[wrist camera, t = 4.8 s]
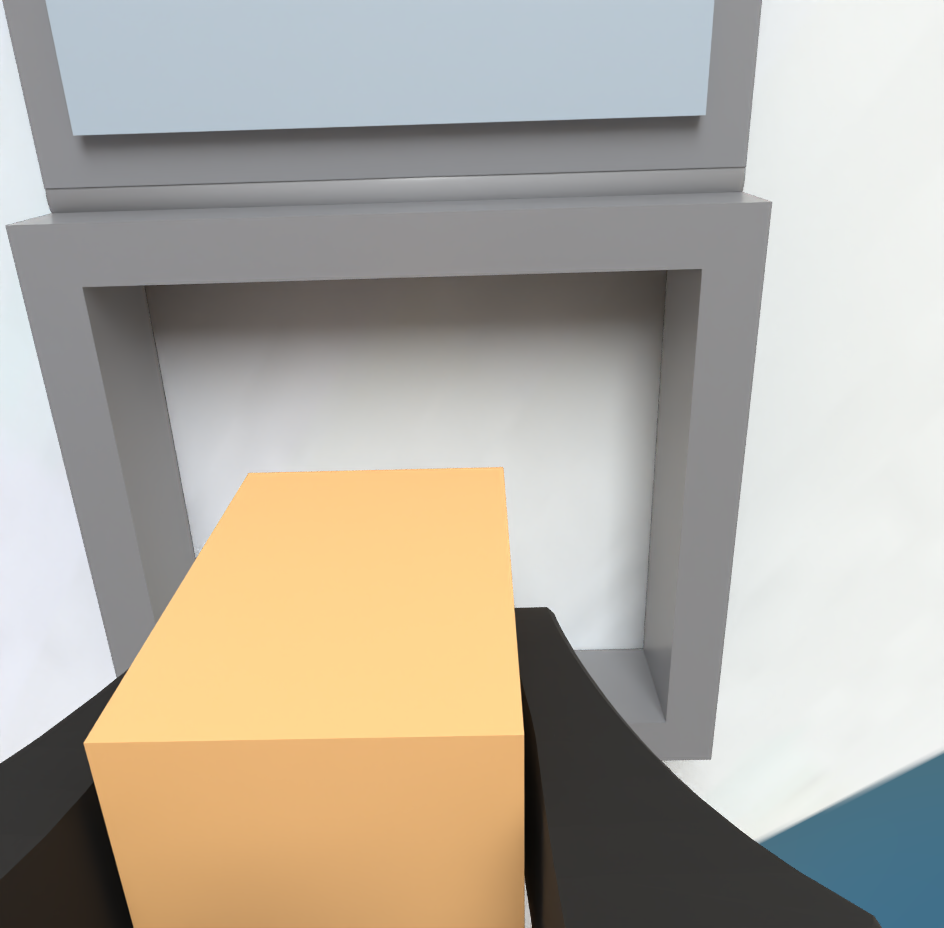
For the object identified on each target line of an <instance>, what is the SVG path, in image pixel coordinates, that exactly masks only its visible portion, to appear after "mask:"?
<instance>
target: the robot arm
mask: <svg viewBox="0 0 944 928" xmlns="http://www.w3.org/2000/svg"><path fill="white" fill-rule="evenodd" d="M514 611H515V624H516V637H517V650H518V662H519V675H520V688H521V701H522V714H523V727H524V876H525V883H526V889H527V896H528V903H529V909H530V916H531V923H532V928H882V927H881V926H880V924H879V923H878V921H877V920H876V918H875V917H874V916H873V915H871V914H870V913H868V912H866V911H865V910H863V909H861V908H860V907H858V906H856V905H854V904H853V903H851V902H850V901H848V900H846V899H844V898H843V897H841V896H839V895H838V894H836V893H834V892H833V891H831V890H829V889H828V888H826V887H824V886H823V885H821V884H819V883H818V882H816V881H814V880H812V879H811V878H809V877H807V876H806V875H804V874H802V873H801V872H799V871H798V870H796V869H795V868H793V867H791V866H790V865H789V864H787V863H785V862H784V861H783V860H781V859H780V858H778V857H777V856H776V855H774V854H773V853H771V852H770V851H768V850H767V849H765V848H764V847H763V846H761V845H760V844H758V843H757V842H755V841H754V840H753V839H751V838H750V837H749V836H747V835H746V834H745V833H743V832H742V831H741V830H739V829H738V828H737V827H736V826H734V825H733V824H732V823H731V822H729V821H728V820H727V819H726V818H724V817H723V816H722V815H721V814H719V813H718V812H717V811H716V810H715V809H713V808H712V807H711V806H710V805H708V804H707V803H706V802H705V801H703V800H702V799H701V798H700V797H699V796H698V795H696V794H695V793H694V792H693V791H692V790H691V789H690V788H689V787H688V786H687V785H686V784H684V783H683V782H682V781H681V780H680V779H679V778H678V777H677V776H676V775H675V774H674V773H673V772H672V771H671V770H670V769H669V768H668V767H667V766H666V765H665V764H664V763H663V762H662V761H661V760H660V759H659V758H658V757H657V756H656V755H655V754H654V753H653V752H652V751H651V750H650V749H649V748H648V747H647V745H646V744H645V743H644V742H643V741H642V740H641V739H640V738H639V737H638V735H637V734H636V733H635V732H634V731H633V730H632V728H631V727H630V726H629V725H628V724H627V722H626V721H625V720H624V719H623V718H622V717H621V715H620V714H619V713H618V712H617V710H616V709H615V708H614V707H613V705H612V704H611V703H610V702H609V700H608V699H607V698H606V696H605V695H604V694H603V692H602V691H601V689H600V688H599V687H598V685H597V684H596V682H595V681H594V680H593V678H592V677H591V676H590V674H589V673H588V671H587V670H586V668H585V667H584V665H583V664H582V662H581V661H580V659H579V658H578V656H577V655H576V653H575V651H574V650H573V648H572V647H571V645H570V643H569V642H568V640H567V638H566V636H565V635H564V633H563V631H562V629H561V627H560V625H559V623H558V621H557V619H556V617H555V614H554V613H553V612H552V611H551V610H550V609H548V608H547V607H534V608H514ZM127 671H128V669H127V670H126V671H125V672H124V673H123V674H121V675H120V676H119V677H118V678H116V679H115V680H114V681H113V682H112V683H110V684H109V685H108V686H107V687H105V688H104V689H103V690H102V691H100V692H99V693H98V694H97V695H95V696H94V697H93V698H91V699H90V700H89V701H87V702H86V703H85V704H83V705H82V706H81V707H79V708H78V709H77V710H75V711H74V712H73V713H71V714H70V715H69V716H67V717H66V718H65V719H63V720H62V721H61V722H59V723H58V724H56V725H55V726H54V727H52V728H51V729H50V730H48V731H47V732H46V733H44V734H43V735H42V736H40V737H39V738H37V739H36V740H35V741H33V742H32V743H30V744H29V745H27V746H26V747H24V748H23V749H21V750H20V751H18V752H17V753H15V754H14V755H12V756H11V757H9V758H8V759H6V760H5V761H3V762H2V763H0V928H134V927H133V923H132V920H131V916H130V912H129V909H128V905H127V901H126V898H125V894H124V890H123V886H122V883H121V879H120V875H119V872H118V868H117V864H116V861H115V857H114V853H113V850H112V846H111V842H110V839H109V835H108V831H107V828H106V824H105V820H104V817H103V813H102V809H101V806H100V802H99V798H98V795H97V791H96V787H95V784H94V780H93V776H92V773H91V769H90V765H89V762H88V758H87V754H86V751H85V747H84V741H85V740H86V738H87V737H88V735H89V733H90V732H91V730H92V728H93V727H94V725H95V723H96V722H97V720H98V719H99V717H100V715H101V714H102V712H103V710H104V709H105V707H106V705H107V704H108V702H109V701H110V699H111V697H112V696H113V694H114V692H115V691H116V689H117V687H118V686H119V684H120V683H121V681H122V679H123V678H124V676H125V674H126V673H127Z"/></svg>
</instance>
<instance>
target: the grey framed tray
mask: <svg viewBox="0 0 944 928" xmlns="http://www.w3.org/2000/svg"><path fill="white" fill-rule="evenodd" d="M2 1H3V6H4V10H5V15H6V19H7V24H8V28H9V32H10V37H11V41H12V46H13V50H14V55H15V59H16V64H17V68H18V73H19V77H20V82H21V86H22V90H23V95H24V99H25V104H26V108H27V113H28V117H29V122H30V126H31V131H32V135H33V140H34V144H35V148H36V153H37V157H38V162H39V166H40V171H41V175H42V180H43V184H44V189H45V191H46V197H47V202H48V205H49V208H50V210H51V212H52V213H51V214H47V215H43V216H39V217H36V218H32V219H28V220H24V221H20V222H16V223H13V224H9V225H5V226H6V230H7V234H8V238H9V242H10V246H11V250H12V254H13V258H14V262H15V266H16V270H17V275H18V279H19V283H20V287H21V291H22V295H23V299H24V303H25V307H26V311H27V315H28V319H29V323H30V327H31V331H32V335H33V340H34V344H35V348H36V352H37V356H38V360H39V364H40V368H41V372H42V376H43V380H44V384H45V388H46V392H47V396H48V400H49V404H50V409H51V413H52V417H53V421H54V425H55V429H56V433H57V437H58V441H59V445H60V449H61V453H62V457H63V461H64V465H65V469H66V474H67V478H68V482H69V486H70V490H71V494H72V498H73V502H74V506H75V510H76V514H77V518H78V522H79V526H80V530H81V534H82V539H83V543H84V547H85V551H86V555H87V559H88V563H89V567H90V571H91V575H92V579H93V583H94V587H95V591H96V595H97V599H98V603H99V608H100V612H101V616H102V620H103V624H104V628H105V632H106V636H107V640H108V644H109V648H110V652H111V656H112V660H113V664H114V668H115V673H116V677H117V678H118V677H119V676H120V675H121V674H123V673H124V672H125V671H126V670H127V669H129V668H130V666H131V665H132V663H133V661H134V660H135V658H136V656H137V655H138V653H139V652H140V650H141V648H142V647H143V645H144V643H145V642H146V640H147V638H148V637H149V635H150V634H151V632H152V630H153V629H154V627H155V625H156V624H157V622H158V620H159V619H160V617H161V616H162V614H163V612H164V611H165V609H166V607H167V606H168V604H169V602H170V601H171V599H172V598H173V596H174V594H175V593H176V591H177V589H178V588H179V586H180V584H181V583H182V581H183V580H184V578H185V576H186V575H187V573H188V571H189V570H190V568H191V566H192V565H193V563H194V562H195V555H194V549H193V544H192V539H191V533H190V528H189V523H188V517H187V512H186V507H185V501H184V496H183V490H182V485H181V480H180V474H179V469H178V464H177V458H176V453H175V448H174V442H173V437H172V432H171V426H170V421H169V416H168V410H167V405H166V399H165V394H164V389H163V383H162V378H161V373H160V367H159V362H158V357H157V351H156V346H155V341H154V335H153V330H152V325H151V319H150V314H149V308H148V303H147V298H146V292H145V287H144V285H173V284H207V283H241V282H275V281H309V280H343V279H376V278H410V277H444V276H478V275H512V274H546V273H580V272H613V271H647V270H667V281H666V297H665V313H664V328H663V344H662V360H661V376H660V392H659V407H658V423H657V439H656V455H655V471H654V487H653V502H652V518H651V534H650V550H649V566H648V581H647V597H646V613H645V629H644V645H643V649H610V650H574V651H575V653H576V655H577V656H578V658H579V659H580V661H581V662H582V664H583V665H584V667H585V668H586V670H587V671H588V673H589V674H590V676H591V677H592V678H593V680H594V681H595V682H596V684H597V685H598V687H599V688H600V689H601V691H602V692H603V694H604V695H605V696H606V698H607V699H608V700H609V702H610V703H611V704H612V705H613V707H614V708H615V709H616V710H617V712H618V713H619V714H620V715H621V717H622V718H623V719H624V720H625V721H626V722H627V724H628V725H629V726H630V727H631V728H632V730H633V731H634V732H635V733H636V734H637V735H638V737H639V738H640V739H641V740H642V741H643V742H644V743H645V744H646V745H647V747H648V748H649V749H650V750H651V751H652V752H653V753H654V754H655V755H656V756H657V757H658V758H659V759H660V760H661V761H663V760H711V755H712V746H713V737H714V728H715V719H716V710H717V701H718V692H719V683H720V673H721V664H722V655H723V646H724V637H725V628H726V619H727V610H728V600H729V591H730V582H731V573H732V564H733V555H734V546H735V537H736V527H737V518H738V509H739V500H740V491H741V482H742V473H743V464H744V454H745V445H746V436H747V427H748V418H749V409H750V400H751V391H752V381H753V372H754V363H755V354H756V345H757V336H758V327H759V318H760V309H761V299H762V290H763V281H764V272H765V263H766V254H767V245H768V236H769V226H770V217H771V208H772V202H771V201H768V200H765V199H762V198H759V197H756V196H753V195H750V194H747V193H744V192H742V191H743V187H744V181H745V167H746V161H747V150H748V140H749V130H750V119H751V109H752V98H753V88H754V77H755V67H756V57H757V46H758V36H759V25H760V15H761V5H762V0H2Z"/></svg>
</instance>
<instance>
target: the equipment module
mask: <svg viewBox="0 0 944 928" xmlns="http://www.w3.org/2000/svg"><path fill="white" fill-rule="evenodd" d="M84 747H85V751H86V754H87V758H88V762H89V765H90V769H91V773H92V776H93V780H94V784H95V787H96V791H97V795H98V798H99V802H100V806H101V809H102V813H103V817H104V820H105V824H106V828H107V831H108V835H109V839H110V842H111V846H112V850H113V853H114V857H115V861H116V864H117V868H118V872H119V875H120V879H121V883H122V886H123V890H124V894H125V898H126V901H127V905H128V909H129V912H130V916H131V920H132V923H133V927H134V928H524V727H523V714H522V701H521V688H520V675H519V662H518V650H517V637H516V624H515V611H514V598H513V585H512V573H511V560H510V547H509V534H508V521H507V508H506V495H505V483H504V470H503V467H491V468H447V469H403V470H359V471H316V472H272V473H248V475H247V477H246V478H245V480H244V481H243V483H242V485H241V486H240V488H239V490H238V491H237V493H236V495H235V496H234V498H233V499H232V501H231V503H230V504H229V506H228V508H227V509H226V511H225V513H224V514H223V516H222V517H221V519H220V521H219V522H218V524H217V526H216V527H215V529H214V531H213V532H212V534H211V535H210V537H209V539H208V540H207V542H206V544H205V545H204V547H203V548H202V550H201V552H200V553H199V555H198V557H197V558H196V560H195V562H194V563H193V565H192V566H191V568H190V570H189V571H188V573H187V575H186V576H185V578H184V580H183V581H182V583H181V584H180V586H179V588H178V589H177V591H176V593H175V594H174V596H173V598H172V599H171V601H170V602H169V604H168V606H167V607H166V609H165V611H164V612H163V614H162V616H161V617H160V619H159V620H158V622H157V624H156V625H155V627H154V629H153V630H152V632H151V634H150V635H149V637H148V638H147V640H146V642H145V643H144V645H143V647H142V648H141V650H140V652H139V653H138V655H137V656H136V658H135V660H134V661H133V663H132V665H131V666H130V668H129V669H128V671H127V673H126V674H125V676H124V678H123V679H122V681H121V683H120V684H119V686H118V687H117V689H116V691H115V692H114V694H113V696H112V697H111V699H110V701H109V702H108V704H107V705H106V707H105V709H104V710H103V712H102V714H101V715H100V717H99V719H98V720H97V722H96V723H95V725H94V727H93V728H92V730H91V732H90V733H89V735H88V737H87V738H86V740H85V741H84Z"/></svg>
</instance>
